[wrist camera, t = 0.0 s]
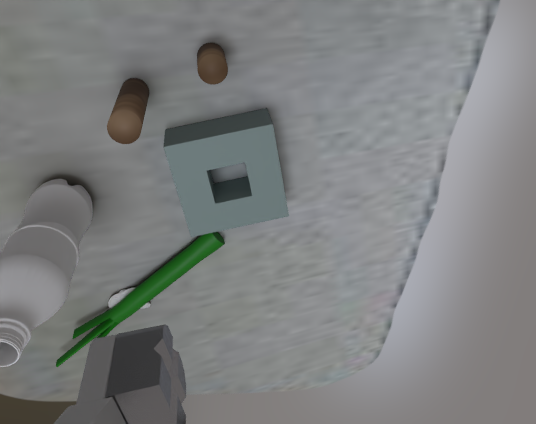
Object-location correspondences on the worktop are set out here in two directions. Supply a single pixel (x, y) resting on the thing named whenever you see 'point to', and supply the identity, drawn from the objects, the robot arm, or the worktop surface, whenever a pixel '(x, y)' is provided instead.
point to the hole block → (221, 155)
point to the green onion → (145, 291)
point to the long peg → (128, 112)
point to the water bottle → (40, 262)
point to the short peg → (211, 63)
